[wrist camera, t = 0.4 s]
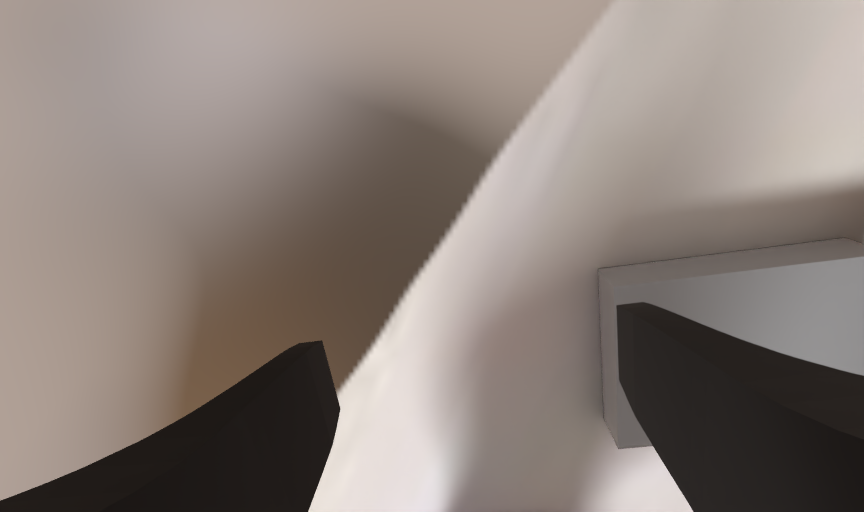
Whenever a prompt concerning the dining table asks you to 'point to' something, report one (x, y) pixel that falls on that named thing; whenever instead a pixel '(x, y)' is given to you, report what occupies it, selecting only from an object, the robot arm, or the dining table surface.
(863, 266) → the grey shell
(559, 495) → the dining table surface
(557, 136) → the dining table surface
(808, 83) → the dining table surface
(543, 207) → the dining table surface
